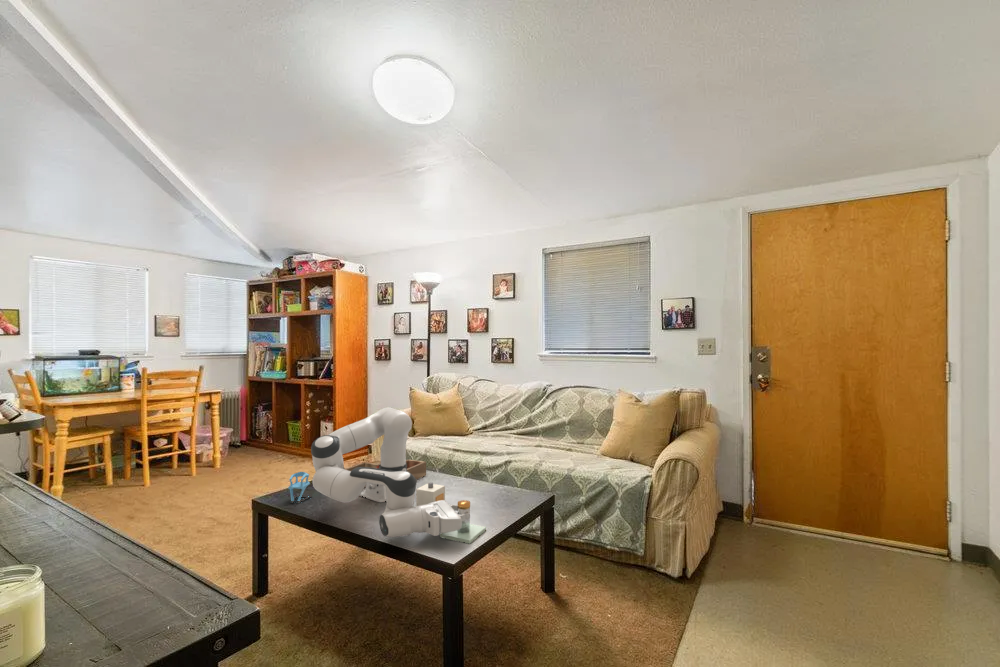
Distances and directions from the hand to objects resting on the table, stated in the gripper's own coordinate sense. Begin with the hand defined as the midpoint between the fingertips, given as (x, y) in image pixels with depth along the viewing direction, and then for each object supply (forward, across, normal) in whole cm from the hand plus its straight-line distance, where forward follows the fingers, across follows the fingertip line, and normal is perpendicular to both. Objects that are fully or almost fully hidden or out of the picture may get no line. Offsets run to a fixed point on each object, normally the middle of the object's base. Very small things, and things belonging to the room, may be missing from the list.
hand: (465, 511), depth 163 cm
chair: (-55, -63, -8) cm, 84 cm away
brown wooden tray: (-24, -82, -8) cm, 86 cm away
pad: (-1, 0, -8) cm, 8 cm away
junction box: (-8, -19, -8) cm, 22 cm away
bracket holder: (-6, -73, -8) cm, 74 cm away
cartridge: (-1, 0, -7) cm, 7 cm away
